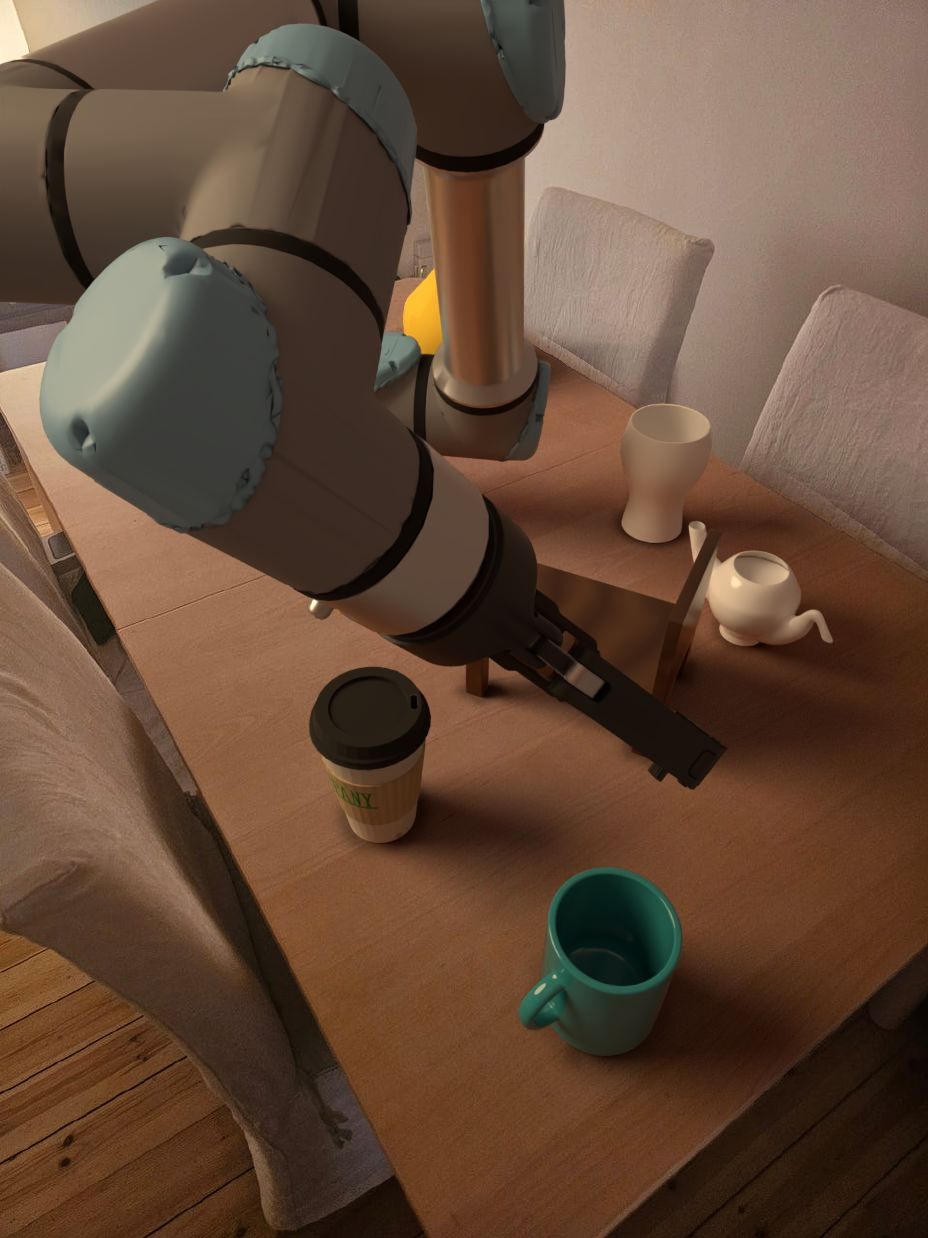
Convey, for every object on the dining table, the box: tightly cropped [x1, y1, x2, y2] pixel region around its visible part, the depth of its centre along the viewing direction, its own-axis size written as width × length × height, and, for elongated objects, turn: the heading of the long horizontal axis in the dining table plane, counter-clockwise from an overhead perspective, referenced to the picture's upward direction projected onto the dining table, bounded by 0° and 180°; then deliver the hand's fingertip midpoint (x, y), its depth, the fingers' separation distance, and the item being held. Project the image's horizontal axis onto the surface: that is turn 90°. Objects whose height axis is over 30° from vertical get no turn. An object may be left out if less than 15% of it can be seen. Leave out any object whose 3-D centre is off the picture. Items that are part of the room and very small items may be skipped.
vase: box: [402, 268, 443, 354], centre depth 129 cm, size 18×18×30 cm
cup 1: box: [517, 866, 684, 1057], centre depth 59 cm, size 9×12×11 cm
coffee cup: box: [308, 666, 432, 844], centre depth 70 cm, size 10×10×15 cm
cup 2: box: [619, 403, 713, 544], centre depth 102 cm, size 11×11×15 cm
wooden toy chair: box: [465, 528, 723, 758], centre depth 81 cm, size 20×14×18 cm
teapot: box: [688, 520, 834, 647], centre depth 89 cm, size 10×20×9 cm, turn 34°
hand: (622, 697), depth 51 cm, fingers open, 13 cm apart
